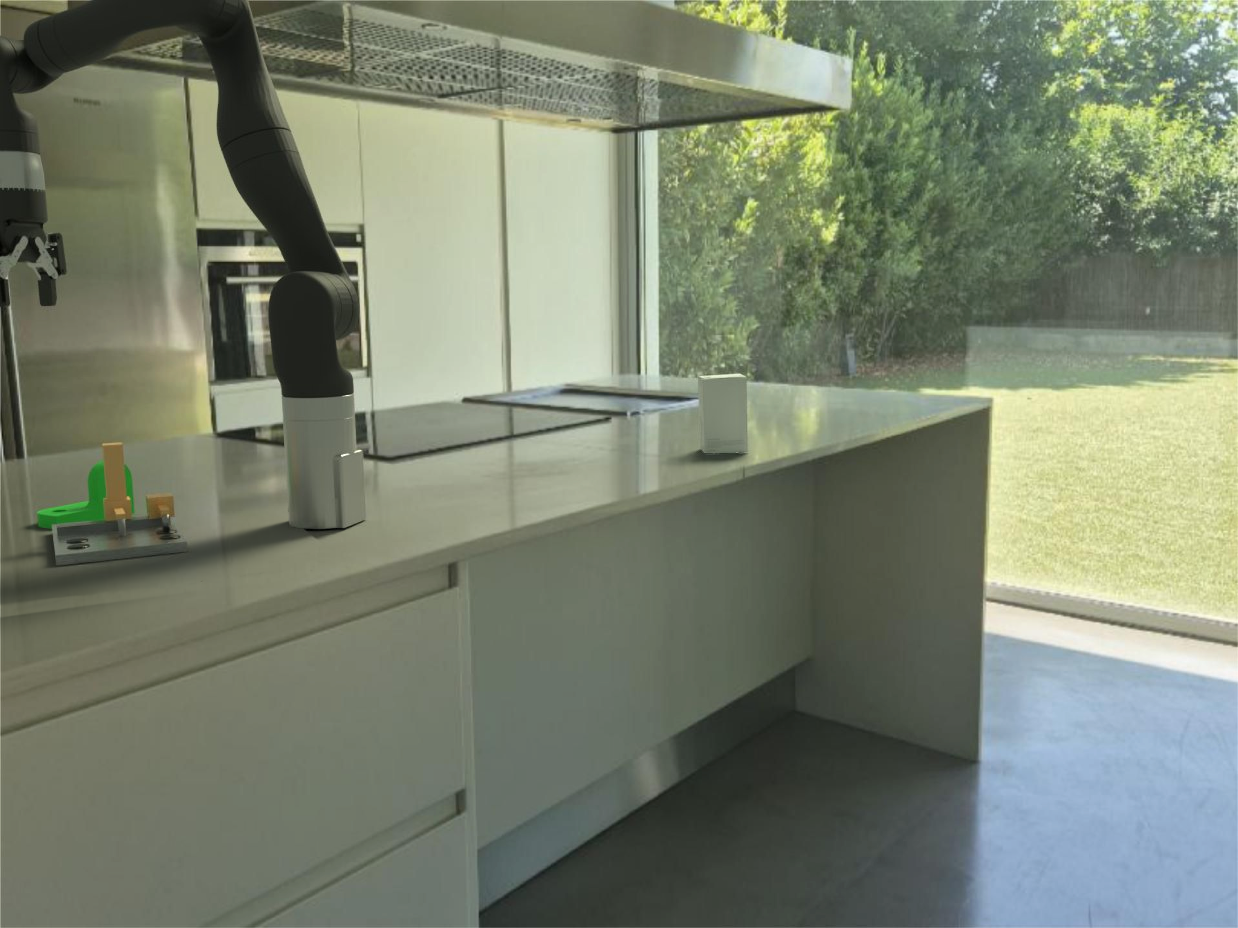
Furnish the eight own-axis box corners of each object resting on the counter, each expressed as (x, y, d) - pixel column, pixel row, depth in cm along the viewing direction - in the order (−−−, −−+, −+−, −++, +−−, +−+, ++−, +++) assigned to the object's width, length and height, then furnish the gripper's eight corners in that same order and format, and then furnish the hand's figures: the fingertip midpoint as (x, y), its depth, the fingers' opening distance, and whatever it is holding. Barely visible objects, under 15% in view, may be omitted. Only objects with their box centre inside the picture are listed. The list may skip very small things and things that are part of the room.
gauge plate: (168, 522, 151) (165, 486, 151) (187, 551, 134) (184, 510, 133) (52, 533, 145) (49, 496, 144) (56, 565, 127) (52, 523, 127)
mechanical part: (106, 511, 161) (101, 456, 160) (134, 514, 158) (130, 458, 157) (28, 527, 151) (23, 468, 149) (57, 531, 148) (52, 471, 147)
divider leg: (130, 523, 144) (124, 441, 142) (136, 534, 137) (129, 448, 135) (105, 525, 143) (98, 443, 141) (109, 537, 136) (102, 450, 134)
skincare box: (742, 453, 209) (742, 373, 207) (748, 457, 203) (749, 375, 201) (697, 454, 208) (697, 374, 206) (702, 459, 202) (702, 376, 200)
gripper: (-4, 182, 147) (8, 307, 150) (74, 191, 161) (84, 305, 164) (-50, 184, 149) (-38, 307, 152) (31, 193, 163) (41, 306, 165)
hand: (25, 306), depth 158 cm, fingers open, 8 cm apart
